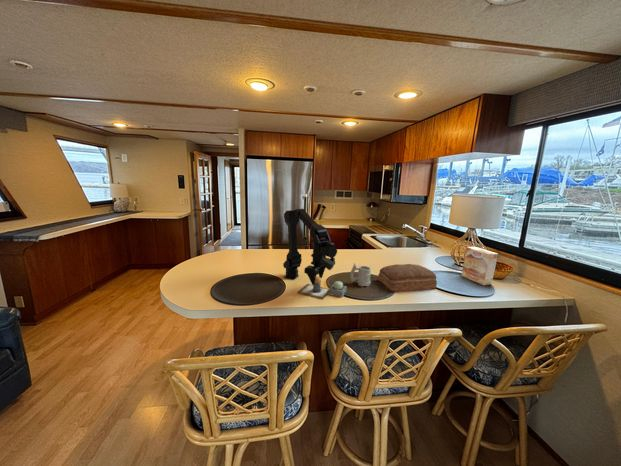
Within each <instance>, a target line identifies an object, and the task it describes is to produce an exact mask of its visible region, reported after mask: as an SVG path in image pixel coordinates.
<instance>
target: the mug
mask: <svg viewBox="0 0 621 466" xmlns="http://www.w3.org/2000/svg"><path fill="white" fill-rule="evenodd" d="M371 269H372V268H371V267H370V266H368V265H360V266H359V267H357V265H356V263H353V267H352V269H351V270H350V273H349V279H350V280H351V282H354V281H356V284H357V283H358V284H359V285H358V284H357V285H358V286H360V285H361V286H360V287H362V286H367V287H369V286H370V285H371V275H372V273H371ZM356 271H357V276H354V273H355V272H356Z"/></svg>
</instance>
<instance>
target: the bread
mask: <svg viewBox="0 0 621 466" xmlns="http://www.w3.org/2000/svg"><path fill="white" fill-rule="evenodd" d="M377 278H378V281H379V282H380V281H381V282H382V284H383V285H384V286H385V287H386V288H387V289H388V290H390V291H391V292H403V291H404V292H407V291H420V290H430V289H431V290H432V289H436V288H437V286H438V282H437V275H436V273H434V272H433V270H431V269H429V268H427V267H425V266H422V265H419V264H412V263H406V264H399V263H398V264H391V265H387V266H384V267H381V268H380V270H379V273H378V275H377ZM381 282H380V283H381Z"/></svg>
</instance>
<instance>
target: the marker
mask: <svg viewBox="0 0 621 466" xmlns="http://www.w3.org/2000/svg"><path fill="white" fill-rule="evenodd" d="M321 283H322V278H321V277H319V276H316V279H315V284H314V285H313V291H314V292H320V287H322V285H321Z"/></svg>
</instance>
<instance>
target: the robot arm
mask: <svg viewBox="0 0 621 466" xmlns="http://www.w3.org/2000/svg"><path fill="white" fill-rule="evenodd" d="M283 218H284V219H283V220H284V222H285V224H286V226H287V234H288V235H287V236H288V239H287V240H288V253H286V258H285V259H286V260H285V261H284V262H283V263H282V264H283V268H284V269H285V275H284V276H283V278H285V279H288V280H296V279H298V277H299V270H298V268H300V267H301V264H302V254H301V253H300V251H298V231H297V230H298V228H297V227H298V224H299V221H301V222H302V223H303V225H304V226H305V227H306V228H307V229H308V230H309V231H308V232H309V235H310V237H311V238H312V239H311V240H310V242H311V243H312V254H311V255H310V257H311V258H312V259H311V260H312V261H311V262H310V264H309V265H308V266H306V267H305V268H304V269H303V270H304V273H305V274H306V275H307V277H308V279H309V281H310V284H311V285H314V284H315V279H316V277H317V276H318V277H321V279H323V276H324V273H325V270H326V269H327V270H328V271H331V270H333V268H334V266H335V265H336V258H335V257H336V256H337V254H338V249H337V247H336V246H335V243H333V242H332V240H331V237H330V235H329V233H328V229H327V228H326V227H324V226H323V225H322V224H319V223H317V222H316V221H315V220H314V219H313V218H312V217H311V215H309V213H308V212H307V211H306V209H305V208H296V209H293V210H291V209H290V210H285V212H284V213H283Z"/></svg>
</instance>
